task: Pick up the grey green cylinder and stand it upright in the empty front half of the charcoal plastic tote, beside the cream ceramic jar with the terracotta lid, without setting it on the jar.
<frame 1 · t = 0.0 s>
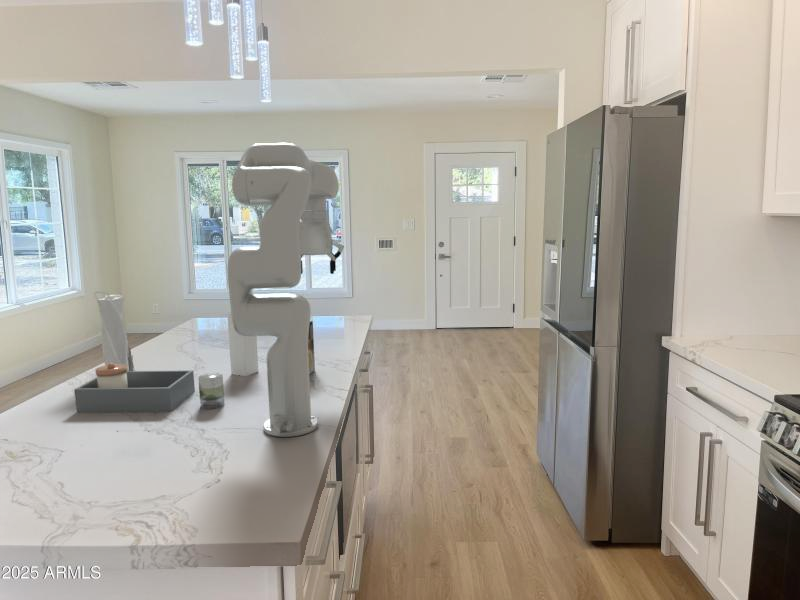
hand: (316, 273, 174), 31 cm above the countertop, tool pointing down, fingers open, 9 cm apart
skyscraper: (119, 382, 173), on the countertop
coffee box: (300, 374, 178), on the countertop
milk: (245, 373, 180), on the countertop
grey green cylinder: (212, 405, 150), on the countertop
lidded jar: (114, 401, 152), point 1 cm above the countertop, touching tote
tote: (139, 404, 152), on the countertop
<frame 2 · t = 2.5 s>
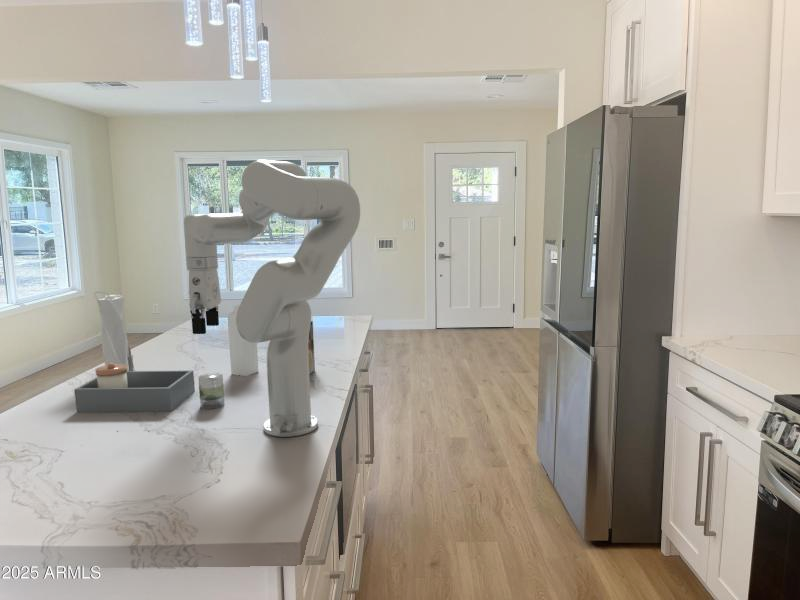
hand: (206, 329, 147), 20 cm above the countertop, tool pointing down, fingers open, 9 cm apart
nothing on the countertop moved.
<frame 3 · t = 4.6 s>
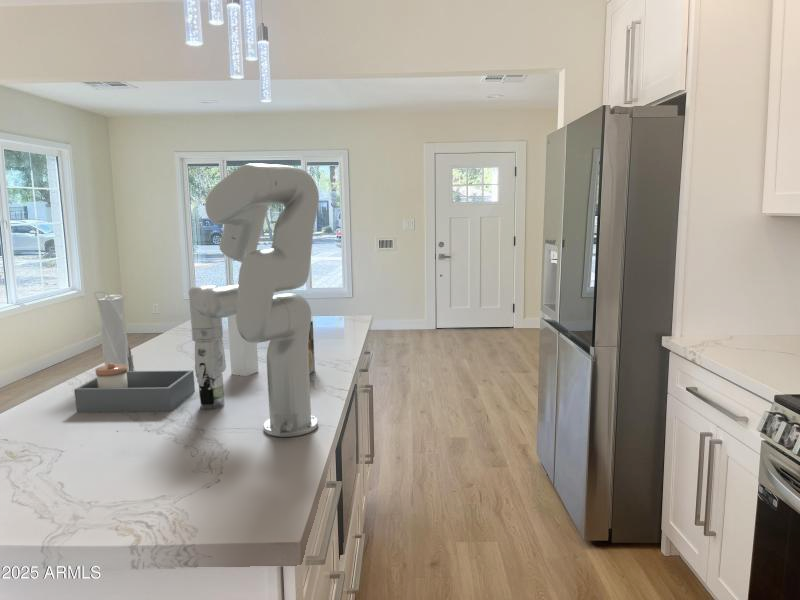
hand: (212, 399, 150), 2 cm above the countertop, tool pointing down, fingers closed on grey green cylinder, 6 cm apart
grey green cylinder: (212, 405, 150), on the countertop, touching gripper
everything else where it was.
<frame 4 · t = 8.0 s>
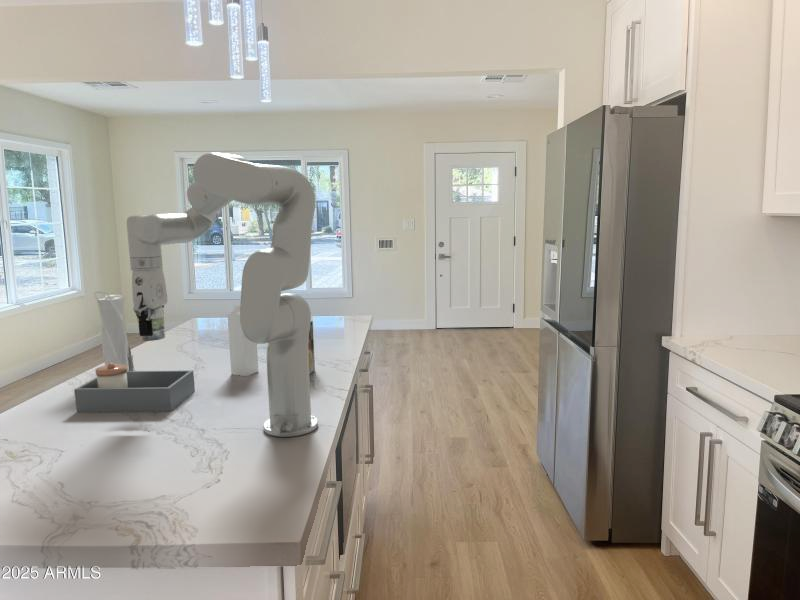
hand: (152, 332, 148), 20 cm above the countertop, tool pointing down, fingers closed on grey green cylinder, 6 cm apart
grey green cylinder: (152, 338, 149), point 18 cm above the countertop, touching gripper
everything else where it was.
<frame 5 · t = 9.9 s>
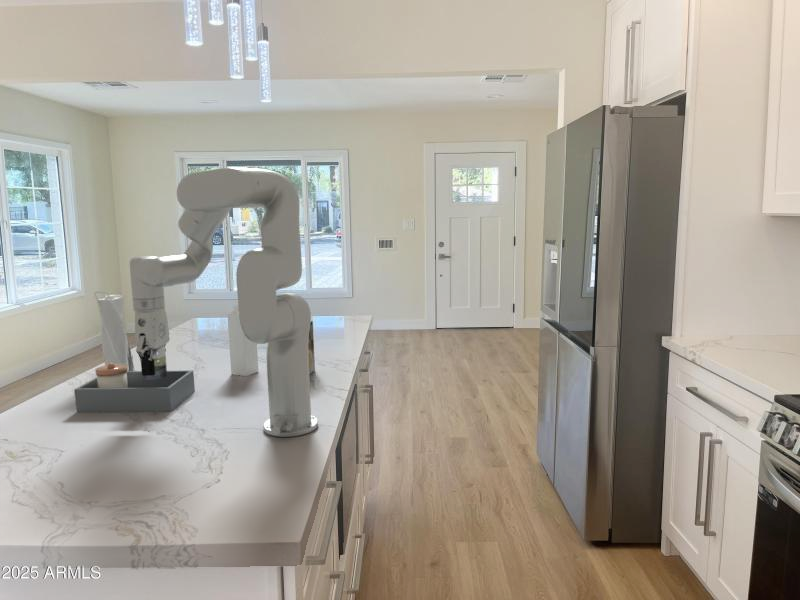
hand: (154, 370, 150), 9 cm above the countertop, tool pointing down, fingers closed on grey green cylinder, 6 cm apart
grey green cylinder: (154, 376, 150), point 8 cm above the countertop, touching gripper
everything else where it was.
when the fingers open (4 cm above the countertop, at t = 11.4 s): grey green cylinder drops 1 cm, resting on tote.
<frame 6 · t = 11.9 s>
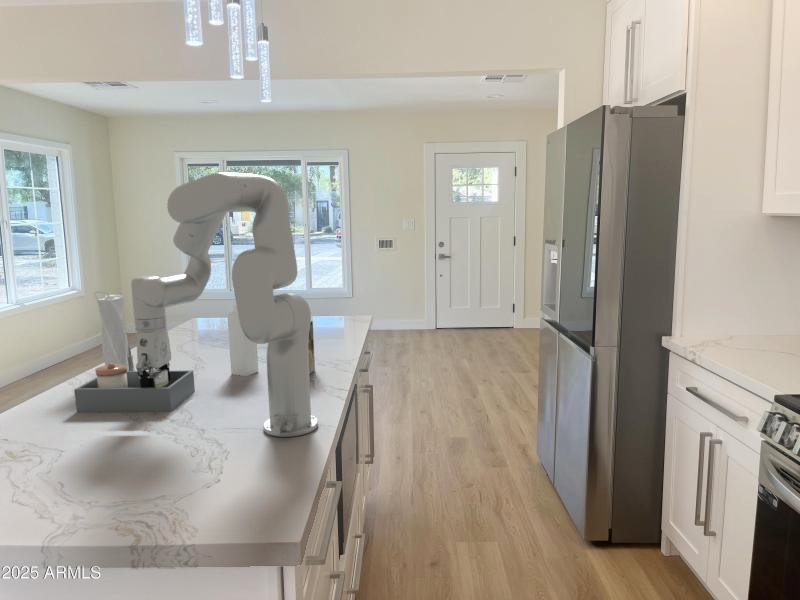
hand: (156, 387, 151), 5 cm above the countertop, tool pointing down, fingers open, 9 cm apart
grey green cylinder: (157, 401, 151), point 1 cm above the countertop, touching tote
everything else where it was.
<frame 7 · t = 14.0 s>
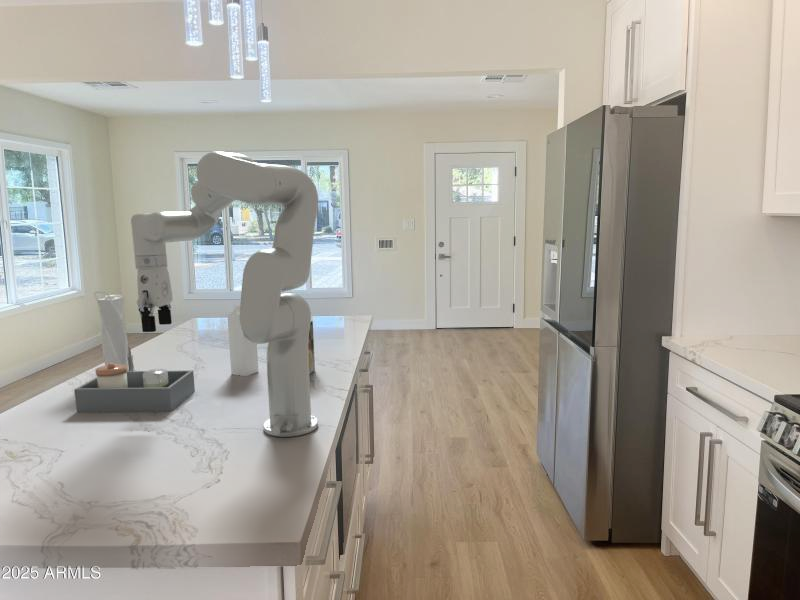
hand: (157, 327, 148), 21 cm above the countertop, tool pointing down, fingers open, 9 cm apart
nothing on the countertop moved.
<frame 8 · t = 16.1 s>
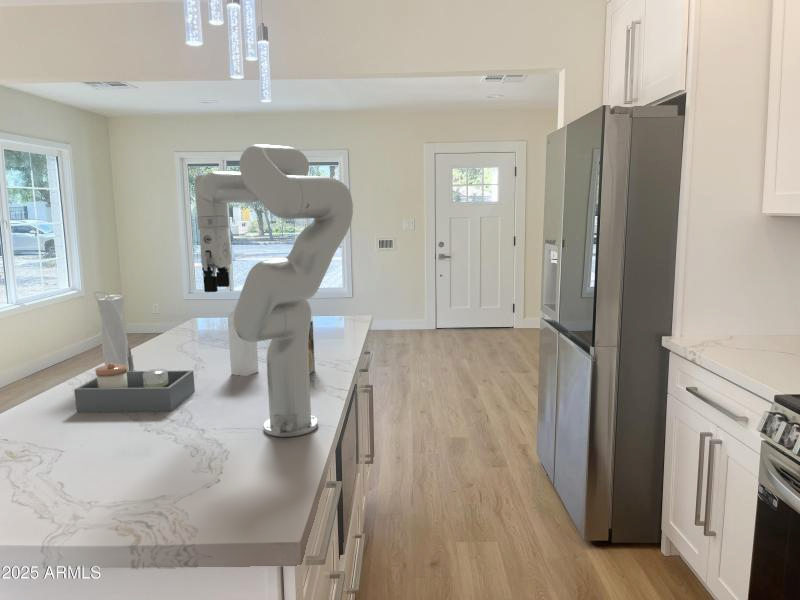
hand: (217, 289, 149), 30 cm above the countertop, tool pointing down, fingers open, 9 cm apart
nothing on the countertop moved.
at the end: grey green cylinder inside the target area on the tote (0.6 cm from its centre), point 1.0 cm above the tote's base; grey green cylinder tilted 0°; lidded jar moved 0.0 cm from its start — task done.
